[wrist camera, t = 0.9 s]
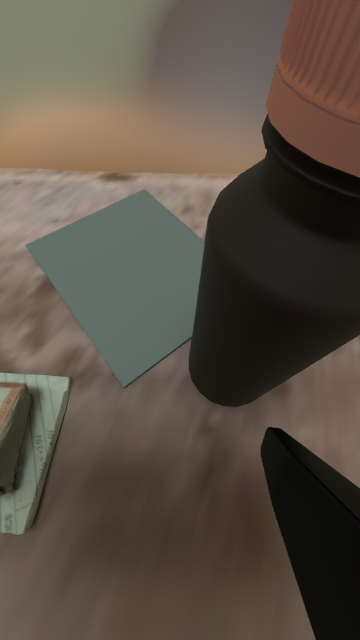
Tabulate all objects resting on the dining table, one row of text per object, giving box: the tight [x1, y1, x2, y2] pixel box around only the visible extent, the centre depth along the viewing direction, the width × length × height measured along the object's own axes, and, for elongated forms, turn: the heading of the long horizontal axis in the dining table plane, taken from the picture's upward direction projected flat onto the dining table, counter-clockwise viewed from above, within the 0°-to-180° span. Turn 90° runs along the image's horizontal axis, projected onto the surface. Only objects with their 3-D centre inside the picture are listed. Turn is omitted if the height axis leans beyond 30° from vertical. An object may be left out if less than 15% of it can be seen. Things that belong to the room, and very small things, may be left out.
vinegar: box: [189, 0, 360, 406], centre depth 12 cm, size 7×7×20 cm
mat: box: [26, 189, 205, 388], centre depth 26 cm, size 20×16×1 cm
